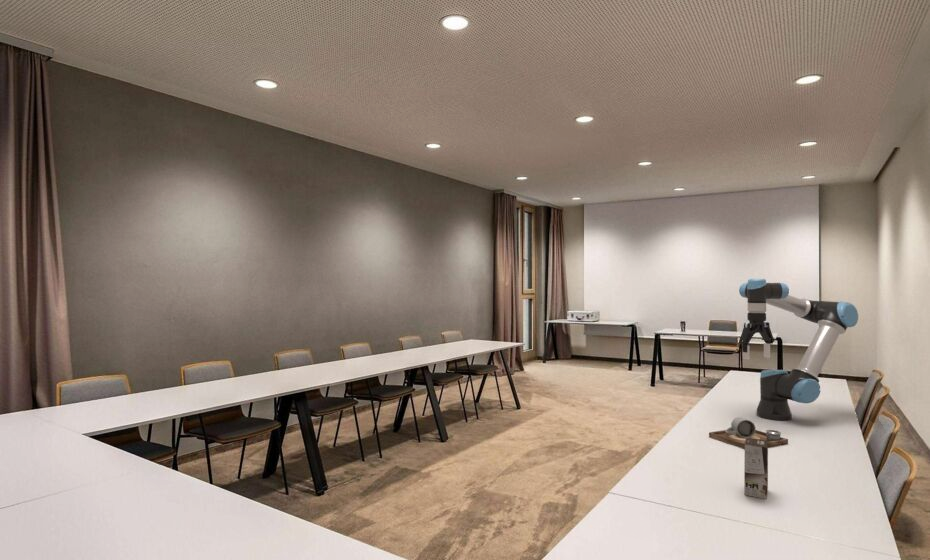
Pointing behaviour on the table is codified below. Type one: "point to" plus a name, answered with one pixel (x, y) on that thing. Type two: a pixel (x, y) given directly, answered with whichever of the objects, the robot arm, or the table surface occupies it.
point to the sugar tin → (772, 435)
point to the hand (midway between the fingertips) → (756, 358)
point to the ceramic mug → (741, 428)
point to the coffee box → (756, 468)
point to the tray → (740, 441)
